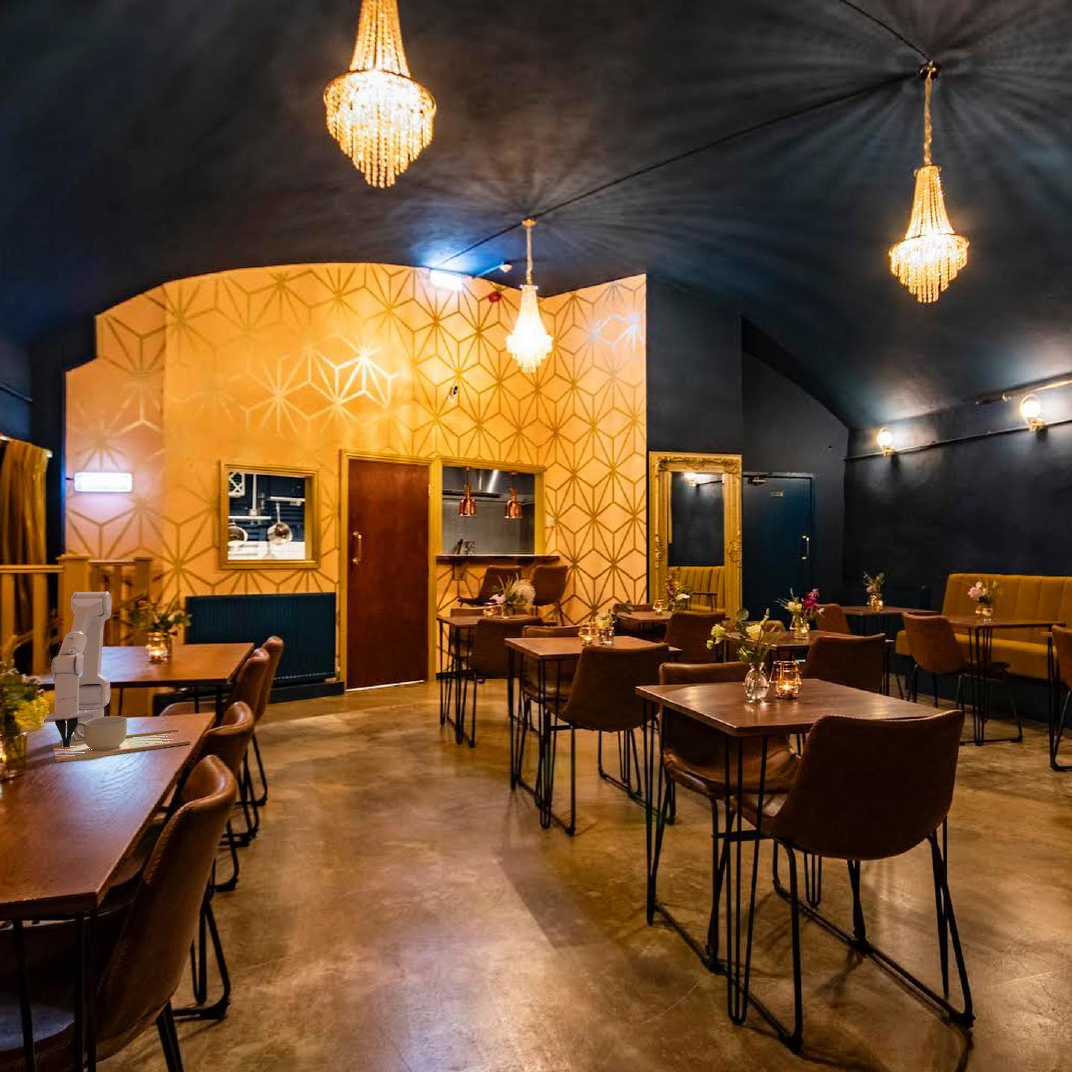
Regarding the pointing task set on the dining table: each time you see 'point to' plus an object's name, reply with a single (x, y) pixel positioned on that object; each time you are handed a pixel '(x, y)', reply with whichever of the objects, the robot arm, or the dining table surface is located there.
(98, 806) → the dining table surface
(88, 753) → the beige flat rectangular board
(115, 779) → the dining table surface
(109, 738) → the teacup
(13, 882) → the dining table surface
